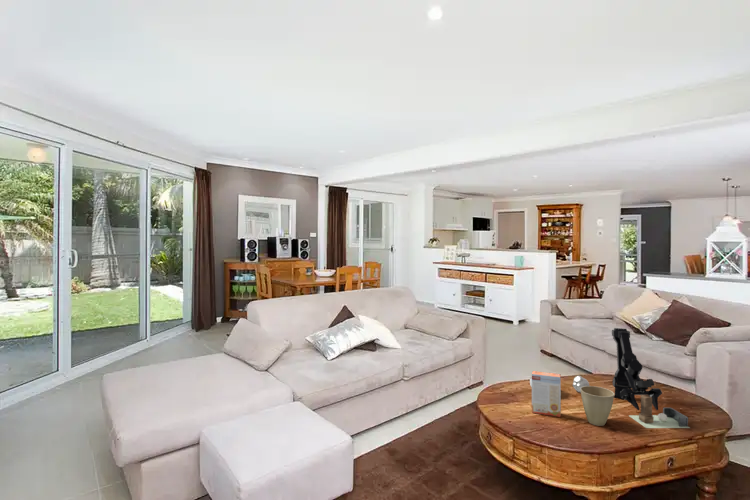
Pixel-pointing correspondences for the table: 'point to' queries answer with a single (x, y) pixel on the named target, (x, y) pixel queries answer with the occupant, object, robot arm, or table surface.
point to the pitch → (658, 422)
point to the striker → (646, 409)
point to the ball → (662, 417)
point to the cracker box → (546, 393)
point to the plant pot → (597, 404)
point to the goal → (676, 416)
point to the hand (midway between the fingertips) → (648, 409)
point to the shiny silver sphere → (579, 383)
